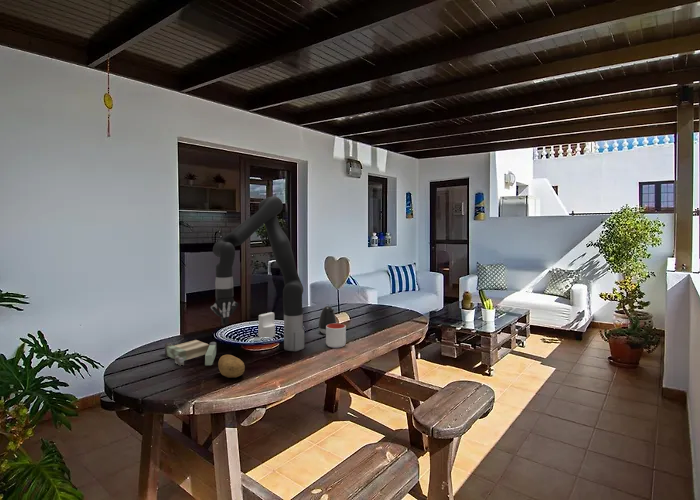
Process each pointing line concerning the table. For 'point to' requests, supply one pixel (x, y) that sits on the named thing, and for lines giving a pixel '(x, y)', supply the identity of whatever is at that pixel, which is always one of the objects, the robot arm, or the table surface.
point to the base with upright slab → (266, 325)
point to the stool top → (186, 350)
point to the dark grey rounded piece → (326, 318)
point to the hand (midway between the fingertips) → (225, 325)
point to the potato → (231, 366)
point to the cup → (335, 335)
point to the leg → (210, 354)
